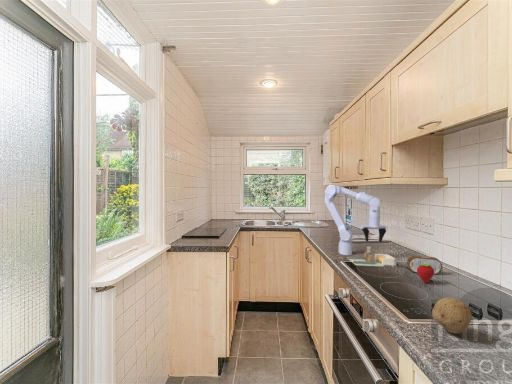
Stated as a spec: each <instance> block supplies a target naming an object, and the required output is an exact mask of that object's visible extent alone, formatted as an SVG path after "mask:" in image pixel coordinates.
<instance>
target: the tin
mask: <svg viewBox="0 0 512 384" xmlns="http://www.w3.org/2000/svg"><path fill="white" fill-rule="evenodd" d="M422 263H423V264H426V265H431V266H432V268H433V269H434V275H435V276H436V275H439V274H440V273H441V272H442V270H443V264H442V262H441V261H440V259H438V258H437V257H434V256H427V255H415V254H414V255H411V256H409V258H408V259H407V261H406V266H407V268H408V269H409V270H410V272H412V273H416V274H418V273H417V268H418V267H419V266H422V265H423V264H422ZM434 275H433V276H434Z"/></svg>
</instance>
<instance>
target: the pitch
mask: <svg viewBox="0 0 512 384" xmlns="http://www.w3.org/2000/svg"><path fill="white" fill-rule="evenodd" d="M380 257H385V258H382V263H380V262H379V258H380ZM346 259H348V260H349V261H350V262H351V263H353V264H354V266H363V267H364V266H367V267H368V266H369V267H385V266H397V259H396V258H395V257H394V256H391V255H390V254H387V253H385V254H384V253H383V254H382V253H375V254H374V262H367V261H366V260H365V259H364V256H352V255H347V256H346Z"/></svg>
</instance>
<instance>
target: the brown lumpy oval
mask: <svg viewBox="0 0 512 384" xmlns="http://www.w3.org/2000/svg"><path fill="white" fill-rule="evenodd" d="M472 315H473V314H472V311H471V309H470V308H469V307H468V305H467V304H466V303H465V302H464V301H462V300H460V299H457V298H455V297H443V298H441V299H438V300H437V302H436V303H435V304H434V306H433V308H432V311H431V316H432V318H433V320H434V321H435V322H436V323H437V324H438V325H439V326H441V327H442V328H444V329H445V330H446V331H447V332H448V333H450V334H452V333H453V334H452V335H458V334H461V333H463V332H464V331H466V329H467V328H468V327H469V325H470V323H471V321H472Z"/></svg>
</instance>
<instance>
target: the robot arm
mask: <svg viewBox="0 0 512 384" xmlns="http://www.w3.org/2000/svg"><path fill="white" fill-rule="evenodd" d="M339 194H345V195H346V196H350V197H352V198H355V199H356V201H357V202H359V203H362V204H364V205H369V211H368V213H369V214H368V224H361V225H360V229H361V230H362V232H363V235H364V238H365V241H366V242H369V234H370V230H378V241H379V242H380V243H382V242H383V239H384V236H385V234H386V233H387V230H388V226H387V225H380V221H381V207H380V206H381V200H380V198H378V197H376V196H374V195H370V194H367V193H366V192H365V191H360V192H356V191H354V190H351V189H348V188H346V187H343V186H338V185H336V184H330V185H328V186H326V188H325V190H324V203H325V205H326V208H327V210H328V211H329V213H330V215H331V217H332V219H333V221H334V223H335V225H336V227H337V230H338V232H339V238H340V239H339V241H338V248H337V249H338V254H340V255H343V256H352V255H353V240H352V237H353V235H354V234H353V232H352V230H351V229H350V228H348V226H347V224H346V223H345V221H344V218H343V217H342V215H341V213H340V212H339V210H338V207H337V205H336V204H335V202H334V200H335V198H336V196H337V195H339Z"/></svg>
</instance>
